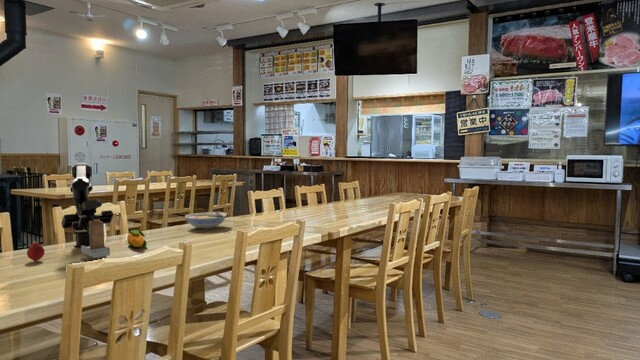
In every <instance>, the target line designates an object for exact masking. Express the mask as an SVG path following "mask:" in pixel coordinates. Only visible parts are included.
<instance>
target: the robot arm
mask: <svg viewBox="0 0 640 360" xmlns="http://www.w3.org/2000/svg"><path fill="white" fill-rule="evenodd" d="M71 177H72V178H73V179H72V184H71V183H70V193H72V196H73V197H72V201H73V203H74V206H75V207H74V208H75V209H76V211H75V213H70V214H68V213H67V214H64V215H63V217H62V219H61V228H63V229H70V228H71V229H72V233H73V235H75V245H73V247H74V248H81V246H86V247H89V246H90V238H89V222H92V221H93V220H94V219H99V221H101V222H104V225H105V224H110V223H111V222H112V219H113V217H114V212H113V210H110V209H108V210H102V211H101V212H100V214H96V213H97V209H98V208H101V207H102V206H103V203H102V200H101V199H100V198H95V199H91V200H90V199H89V195H90V192H92V190H93V188H94V187H93V185H92V184H91V183H90V182H91V179H92V178H91V177H93V169H92V166H90V165H88V163H76V164H75V165H74V166H72V167H71Z"/></svg>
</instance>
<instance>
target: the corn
mask: <svg viewBox="0 0 640 360" xmlns="http://www.w3.org/2000/svg"><path fill="white" fill-rule="evenodd" d="M144 238H146V235H145V234H144V232H143V231H142V230H138V229H132V230H130V231H129V233H128V235H127V243H128V245H129V246H131V248H134V249H135V248H140V247H142V248H146V247H147V245H148V244H147V243H148V242H147V241H146V240H145V239H144Z"/></svg>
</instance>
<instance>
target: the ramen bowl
mask: <svg viewBox="0 0 640 360" xmlns="http://www.w3.org/2000/svg"><path fill="white" fill-rule="evenodd" d="M227 215H228V214H227V213H225V212H224V213H223V212H219V211H216V212H198V213H191V214H186V215H184V218H185V220H186V221H187V223H189V224H190V225H191V226H193V227H195V228H197V229H200V230H212V229H214V228H215V227H218V226H220V225H221V224H222V223H223V222H224V220H226V217H227Z"/></svg>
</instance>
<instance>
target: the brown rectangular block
mask: <svg viewBox="0 0 640 360" xmlns="http://www.w3.org/2000/svg"><path fill="white" fill-rule="evenodd" d="M104 225H105V224H104V222H101V221H100V220H99V219H94V220H93V221H92V222H89V238H90V248H91V249H99V248H105V247H106V246H105V229H104V227H105V226H104Z"/></svg>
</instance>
